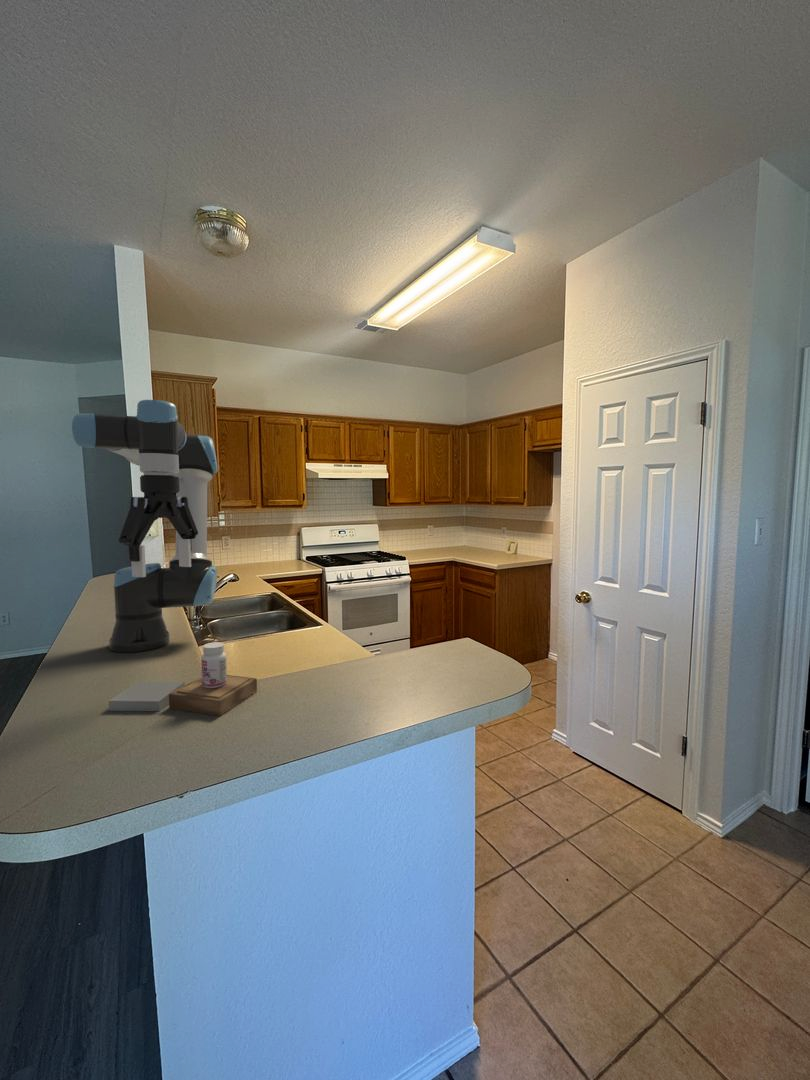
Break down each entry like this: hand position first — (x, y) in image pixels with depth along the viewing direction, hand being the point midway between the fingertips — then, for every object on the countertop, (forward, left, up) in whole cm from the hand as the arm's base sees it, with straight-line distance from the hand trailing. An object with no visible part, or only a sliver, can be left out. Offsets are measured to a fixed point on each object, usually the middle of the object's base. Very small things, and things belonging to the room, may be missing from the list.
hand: (163, 571), depth 101 cm
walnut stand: (+4, +15, -26) cm, 30 cm away
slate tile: (+8, +2, -26) cm, 27 cm away
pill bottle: (+4, +15, -23) cm, 28 cm away
